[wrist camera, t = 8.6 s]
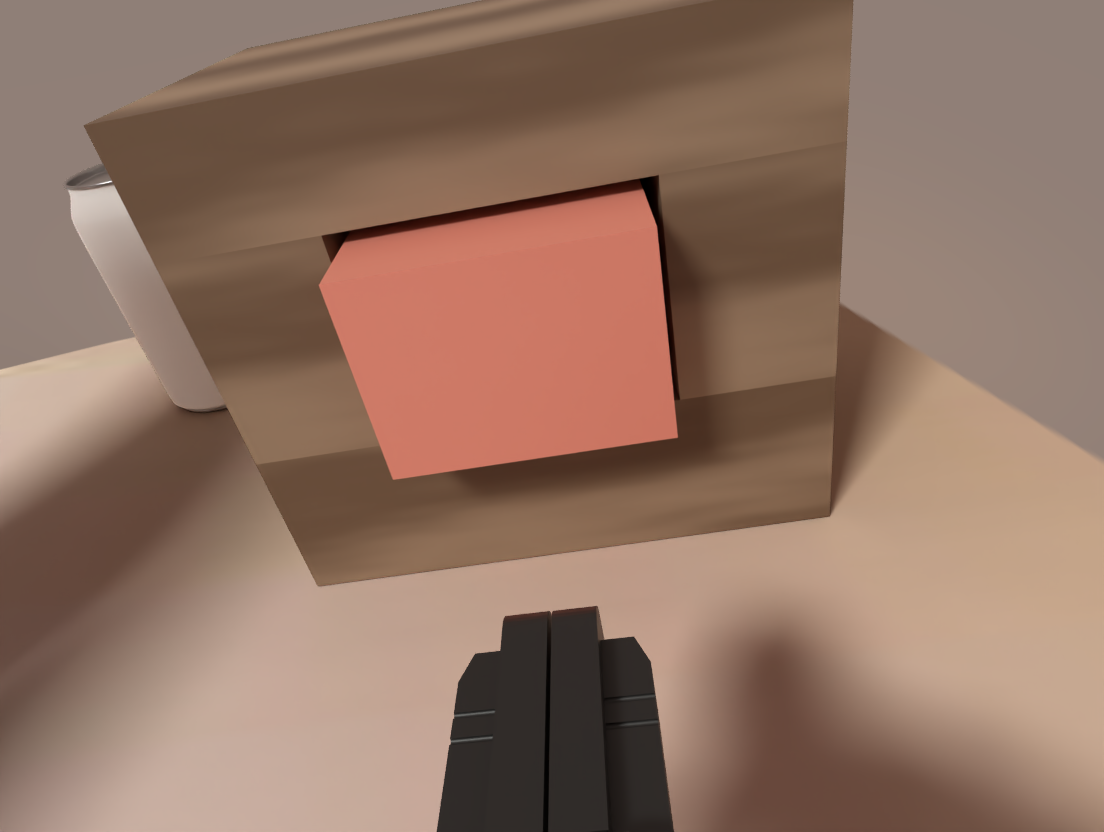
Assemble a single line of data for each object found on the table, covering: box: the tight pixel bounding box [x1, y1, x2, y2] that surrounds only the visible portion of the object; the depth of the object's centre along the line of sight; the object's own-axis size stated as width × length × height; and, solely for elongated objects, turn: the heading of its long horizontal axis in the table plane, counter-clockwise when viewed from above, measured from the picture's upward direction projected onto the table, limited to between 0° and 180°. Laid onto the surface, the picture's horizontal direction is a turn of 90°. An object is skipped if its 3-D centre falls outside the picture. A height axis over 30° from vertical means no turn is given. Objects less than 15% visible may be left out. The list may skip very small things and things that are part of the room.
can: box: [63, 163, 227, 412], centre depth 38 cm, size 6×6×12 cm
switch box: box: [84, 0, 853, 586], centre depth 26 cm, size 12×18×16 cm, turn 90°
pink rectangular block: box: [319, 179, 678, 480], centre depth 21 cm, size 6×8×6 cm
